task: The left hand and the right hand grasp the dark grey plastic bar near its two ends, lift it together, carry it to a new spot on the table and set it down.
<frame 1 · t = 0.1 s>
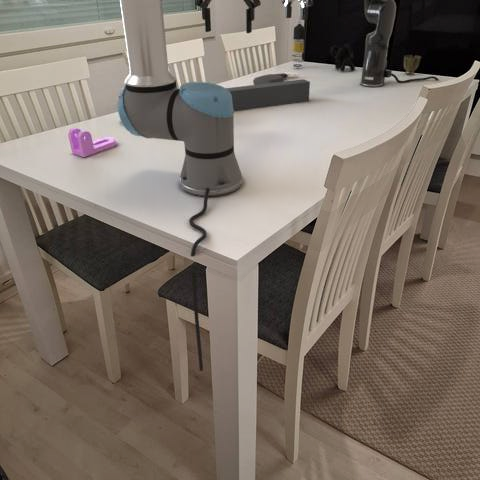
left hand: (228, 32, 139), 28 cm above the table, tool pointing down, fingers open, 13 cm apart
right hand: (296, 18, 158), 29 cm above the table, tool pointing down, fingers open, 8 cm apart
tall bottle: (297, 68, 226), on the table
black irregular legged piece: (343, 70, 221), on the table
cup: (409, 74, 210), on the table
bracket: (96, 149, 132), on the table
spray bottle: (277, 81, 202), on the table
bar: (220, 110, 164), on the table
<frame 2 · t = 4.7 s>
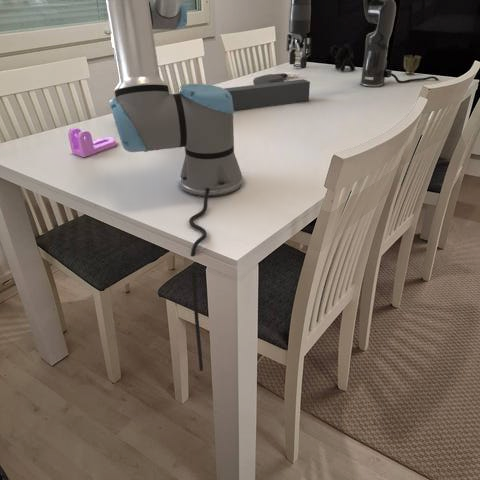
left hand: (135, 120, 154), 1 cm above the table, tool pointing down, fingers closed on bar, 5 cm apart
right hand: (297, 66, 167), 13 cm above the table, tool pointing down, fingers open, 8 cm apart
bar: (220, 110, 164), on the table, touching left hand
everything else where it was.
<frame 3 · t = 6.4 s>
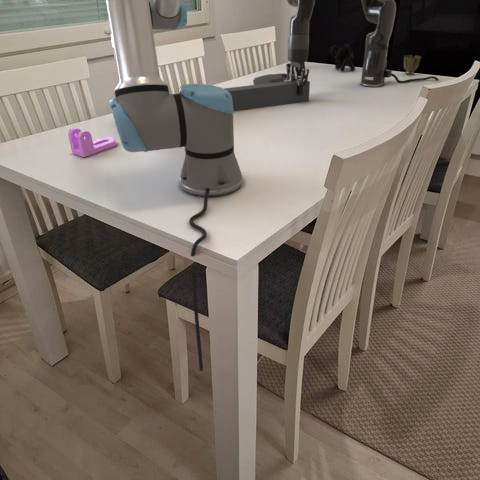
left hand: (135, 120, 154), 1 cm above the table, tool pointing down, fingers closed on bar, 5 cm apart
right hand: (296, 93, 173), 3 cm above the table, tool pointing down, fingers closed on bar, 5 cm apart
bar: (220, 110, 164), on the table, touching left hand, right hand
everything else where it was.
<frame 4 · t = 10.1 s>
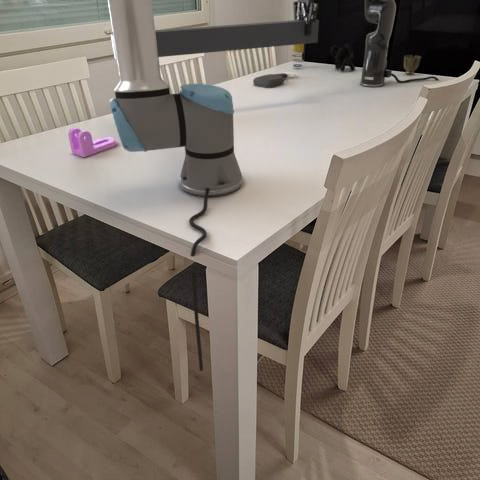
left hand: (129, 56, 141), 22 cm above the table, tool pointing down, fingers closed on bar, 5 cm apart
right hand: (303, 34, 160), 24 cm above the table, tool pointing down, fingers closed on bar, 5 cm apart
bar: (222, 50, 151), point 21 cm above the table, touching left hand, right hand
everything else where it was.
when the left hand's fingers open (1 cm above the table, at t = 15.8 s): bar stays where it is, on the table.
when the right hand's fingers open (3 cm above the table, at t = 15.9 s): bar stays where it is, on the table.
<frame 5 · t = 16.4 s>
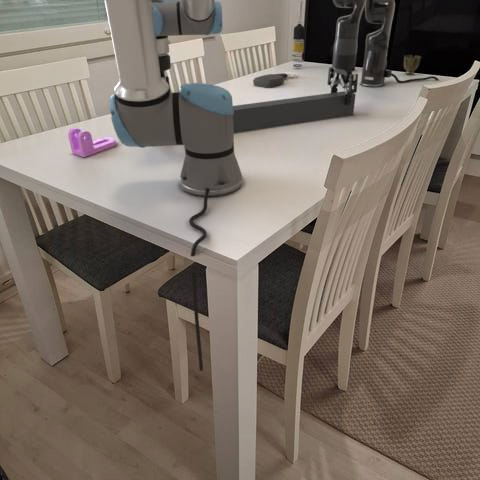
left hand: (164, 129, 136), 4 cm above the table, tool pointing down, fingers open, 13 cm apart
right hand: (340, 101, 155), 5 cm above the table, tool pointing down, fingers open, 8 cm apart
bar: (258, 126, 148), on the table
everything else where it was.
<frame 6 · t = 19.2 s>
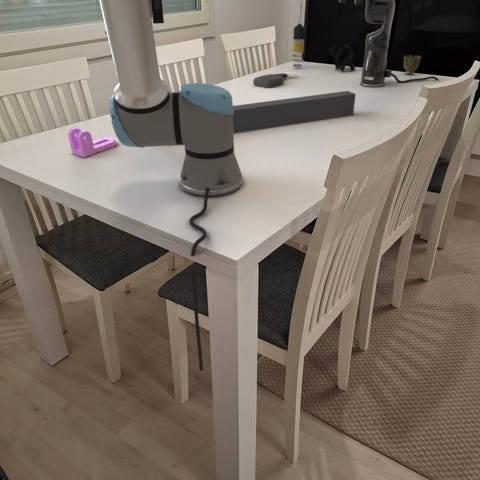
left hand: (152, 20, 120), 33 cm above the table, tool pointing down, fingers open, 13 cm apart
right hand: (349, 3, 139), 35 cm above the table, tool pointing down, fingers open, 8 cm apart
nothing on the table moved.
at the end: bar inside the target area (0.1 cm from its centre), on the table; bar tilted 0°; bar never tilted more than 1° during the clip; both hands held the bar at the same time; the left hand is holding nothing; the right hand is holding nothing; bar at rest at the end (0.0 cm/s) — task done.
